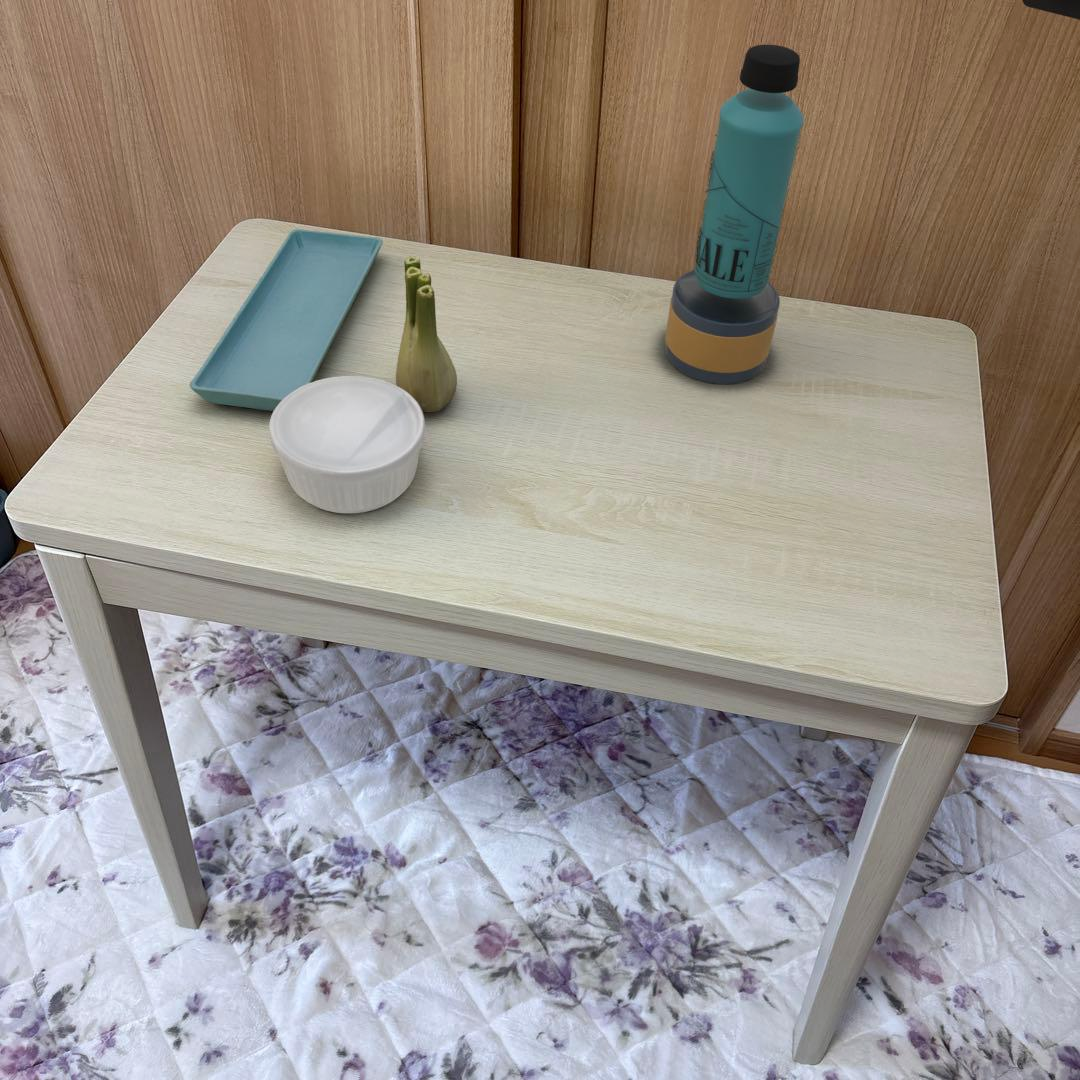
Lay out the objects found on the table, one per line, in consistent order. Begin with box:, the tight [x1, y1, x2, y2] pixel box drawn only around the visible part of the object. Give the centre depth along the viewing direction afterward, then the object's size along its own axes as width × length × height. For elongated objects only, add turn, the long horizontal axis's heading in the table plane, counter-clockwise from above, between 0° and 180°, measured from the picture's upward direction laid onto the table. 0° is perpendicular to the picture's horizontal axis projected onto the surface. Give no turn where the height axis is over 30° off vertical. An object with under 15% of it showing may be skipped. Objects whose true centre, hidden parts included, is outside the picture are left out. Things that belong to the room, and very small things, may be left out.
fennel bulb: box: [395, 255, 458, 413], centre depth 83 cm, size 6×5×12 cm
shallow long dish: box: [189, 228, 384, 412], centre depth 93 cm, size 26×9×2 cm, turn 171°
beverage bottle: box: [692, 44, 805, 299], centre depth 82 cm, size 6×7×20 cm
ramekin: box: [268, 375, 426, 514], centre depth 78 cm, size 11×11×5 cm
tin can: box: [664, 269, 781, 385], centre depth 91 cm, size 9×9×6 cm
